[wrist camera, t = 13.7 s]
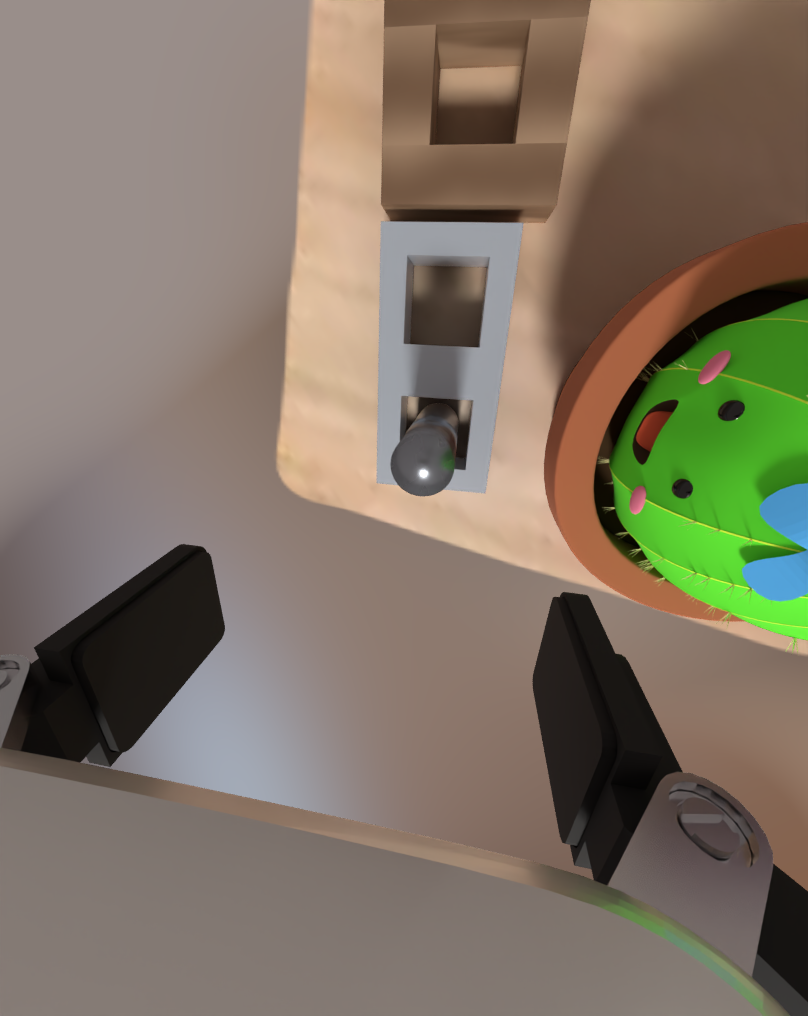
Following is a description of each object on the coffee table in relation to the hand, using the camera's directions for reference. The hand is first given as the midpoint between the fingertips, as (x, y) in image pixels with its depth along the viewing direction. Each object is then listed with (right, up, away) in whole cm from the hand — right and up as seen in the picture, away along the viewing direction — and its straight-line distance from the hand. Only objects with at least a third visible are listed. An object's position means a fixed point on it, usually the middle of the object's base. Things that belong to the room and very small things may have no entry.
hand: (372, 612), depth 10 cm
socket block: (+6, +31, +17) cm, 36 cm away
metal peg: (+4, +11, +26) cm, 28 cm away
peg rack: (+4, +15, +24) cm, 29 cm away
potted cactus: (+23, +11, +23) cm, 34 cm away
